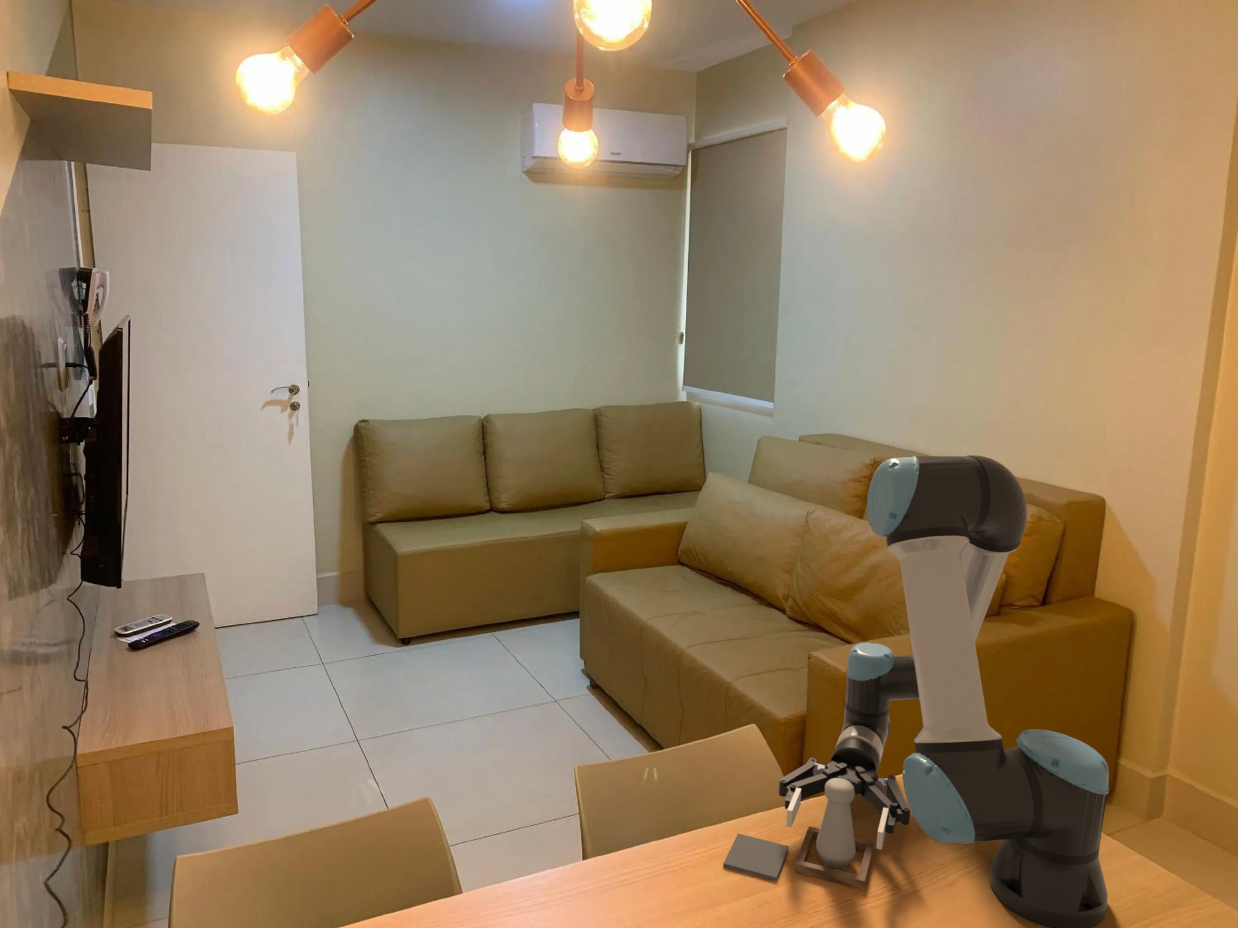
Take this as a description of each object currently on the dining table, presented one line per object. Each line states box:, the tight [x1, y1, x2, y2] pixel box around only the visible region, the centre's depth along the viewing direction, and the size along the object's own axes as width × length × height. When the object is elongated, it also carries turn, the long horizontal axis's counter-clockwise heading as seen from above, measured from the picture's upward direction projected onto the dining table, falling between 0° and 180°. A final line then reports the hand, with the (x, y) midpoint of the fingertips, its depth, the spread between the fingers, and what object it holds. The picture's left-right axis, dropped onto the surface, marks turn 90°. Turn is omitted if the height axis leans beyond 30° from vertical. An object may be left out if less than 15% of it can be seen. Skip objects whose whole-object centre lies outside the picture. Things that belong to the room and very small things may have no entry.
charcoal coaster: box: [723, 833, 790, 882], centre depth 136 cm, size 8×8×1 cm
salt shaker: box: [815, 778, 857, 871], centre depth 134 cm, size 6×6×13 cm
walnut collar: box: [794, 825, 875, 891], centre depth 136 cm, size 10×10×2 cm
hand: (833, 829), depth 131 cm, fingers open, 12 cm apart
